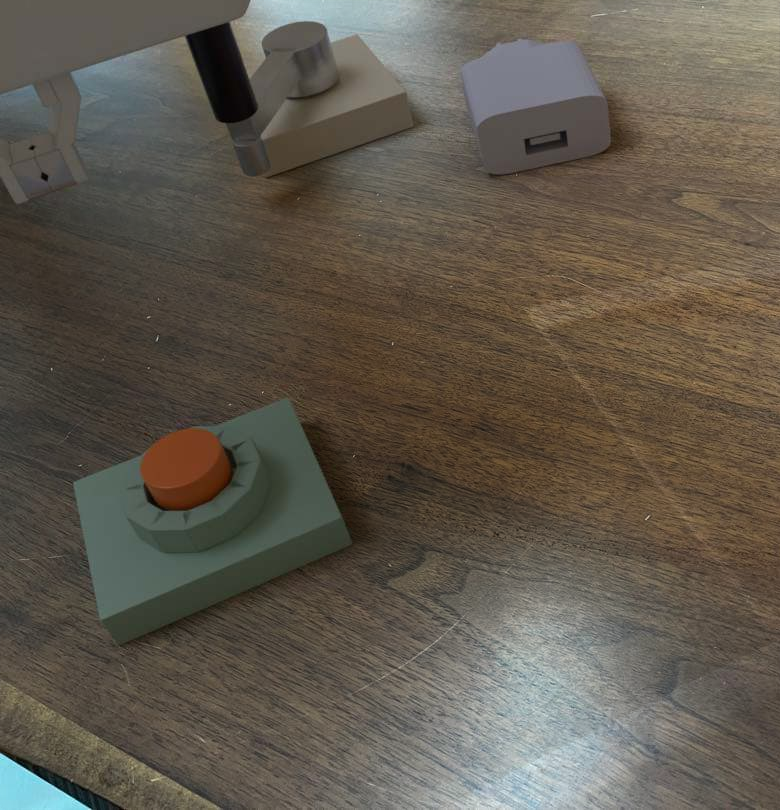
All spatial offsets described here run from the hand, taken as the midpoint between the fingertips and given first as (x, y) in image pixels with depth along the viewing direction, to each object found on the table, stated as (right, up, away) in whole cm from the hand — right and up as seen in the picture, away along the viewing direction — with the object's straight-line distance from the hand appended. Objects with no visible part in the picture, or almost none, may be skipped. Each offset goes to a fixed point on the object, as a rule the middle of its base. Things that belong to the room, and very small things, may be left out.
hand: (52, 186), depth 44 cm
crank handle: (+1, +12, +38) cm, 40 cm away
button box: (+3, -15, +13) cm, 20 cm away
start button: (+2, -13, +11) cm, 17 cm away
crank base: (+2, +14, +43) cm, 45 cm away
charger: (+19, +13, +39) cm, 46 cm away
